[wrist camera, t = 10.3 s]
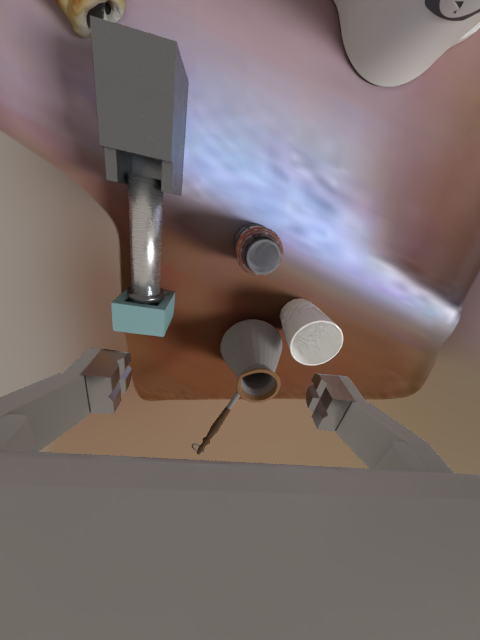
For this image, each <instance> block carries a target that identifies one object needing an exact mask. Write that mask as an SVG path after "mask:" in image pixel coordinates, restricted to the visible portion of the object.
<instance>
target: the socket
mask: <svg viewBox="0 0 480 640" xmlns="http://www.w3.org/2000/svg"><path fill="white" fill-rule="evenodd" d="M174 302H175V292H171V291H165V290H164V299H163V300H162V301H161V302H160V304H159V305H158V306H153V305H146V304H139V303H132V301H131V300H129V299H128V298H127V289H126V290H125V291H124V292H123V293H122V294H121V295H119V296H118V297H117V298H116V299H115V300H114V301H112V302H111V307H112V320H113V331H121V332H128V333H136V334H144V335H152V336H160V337H164V335H165V333H166V331H167V329H168V327H169V324H170V322H171V320H172V318H173V316H174Z"/></svg>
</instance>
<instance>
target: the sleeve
mask: <svg viewBox="0 0 480 640" xmlns="http://www.w3.org/2000/svg"><path fill="white" fill-rule="evenodd" d="M90 25H91V38H92V52H93V65H94V78H95V92H96V105H97V119H98V132H99V145H100V146H103V147H104V153H105V168H106V180H110V181H115V182H119V183H124V184H128V173H133V174H138V175H142V176H147V177H151V178H155V179H159V180H161V191H162V192H166V193H171V194H176V195H181V192H182V176H183V160H184V144H185V129H186V113H187V97H188V79H187V75H186V72H185V69H184V65H183V62H182V59H181V55H180V52H179V49H178V45H177V42H176V41H173V40H169V39H166V38H163V37H160V36H156V35H153V34H150V33H146V32H143V31H140V30H137V29H133V28H130V27H127V26H123V25H120V24H117V23H114V22H110V21H107V20H104V19H101V18H97V17H94V16H91V15H90Z"/></svg>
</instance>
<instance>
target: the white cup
mask: <svg viewBox="0 0 480 640" xmlns="http://www.w3.org/2000/svg"><path fill="white" fill-rule="evenodd" d="M280 321H281V324H282V329H283V332H284V335H285V338H286V341H287V344H288V346H289V349H290V352H291V354H292V356H293V358H294V359H295V360H296V361H298V362H299V363H301V364H304V365H319V364H322V363H325V362H327V361H329V360H330V359H332V358H333V357H334V356H335V355H336V354H337V353H338V352H339V350H340V349H341V346H342V343H343V334H342V331H341V329H340V328H339V327H338V326H337V325H336V324H335V323H334V322H333V321H332V320H331V319H330V318H329V317H328V316H327V315H326V314H324V313H323V312H322V311H321V310H320V309H319V308H318V307H316V306H315V305H314V304H313V303H312V302H311V301H309V300H306V299H303V298H299V299H293V300H291V301H289V302H288V303H286V304H285V306H284V307H283V308H282V309H281V313H280Z"/></svg>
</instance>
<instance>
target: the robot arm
mask: <svg viewBox="0 0 480 640" xmlns="http://www.w3.org/2000/svg"><path fill="white" fill-rule="evenodd" d="M334 2H335V4H336V6H337V9H338V13H339V18H340V26H341V33H342V39H343V43H344V47H345V50H346V53H347V55H348V57H349V60H350V62H351V63H352V65H353V67H354V68H355V69H356V71H357V72H358V73H359V74H360V75H361V76H362V77H363V78H364V79H366V80H367V81H369V82H370V83H372V84H375V85H378V86H384V87H392V86H398V85H402V84H404V83H407V82H409V81H411V80H413V79H415V78H416V77H418V76H419V75H421V74H422V73H423V72H425V71H426V70H427V69H428V68H429V67H430V66H431V65H432V64H433V63H434V62H435V61H436V60H437V59H438V58H439V57H440V56H441V55H442V54H443V53H444V52H445V51H446V50H448V49H449V48H450V47H452V46H454V45H456V44H458V43H460V42H462V41H464V40H465V39H467V38H468V37H470V36H471V35H472V34H473V33H474V32H476V31H477V30H478V29H479V28H480V0H334ZM130 361H131V354H130V353H129V352H123V351H115V350H108V349H99V348H88V349H86V350H85V352H83V354H82V355H81V356H80V357H79V358H78V359H77V360H76V361H75V362H74V363H73V364H72V365H71V366H70V367H69V368H68V369H67V370H66V371H65V372H64V373H63V374H62V373H58V374H56V375H53V376H51V377H49V378H46V379H44V380H41V381H39V382H37V383H34V384H32V385H29V386H27V387H24V388H22V389H19V390H17V391H15V392H12V393H10V394H8V395H5V396H3V397H0V640H480V475H477V474H458V473H453V471H452V470H451V469H450V468H449V467H448V466H447V464H446V463H445V462H444V461H443V460H442V458H441V457H440V456H439V455H438V454H437V453H436V451H435V450H434V449H433V448H432V447H431V446H430V445H429V443H427V442H426V441H424V440H423V439H422V438H420V437H419V436H417V435H416V434H414V433H413V432H411V431H410V430H408V429H407V428H406V427H404V426H403V425H401V424H400V423H398V422H397V421H395V420H394V419H392V418H391V417H390V416H388V415H387V414H385V413H384V412H382V411H381V410H379V409H378V408H377V407H375V406H374V405H372V404H371V403H367V402H366V401H365V399H364V398H363V396H362V395H361V394H360V392H359V391H358V390H357V388H356V387H355V385H354V384H353V383H352V381H351V380H350V378H348V377H347V376H338V375H336V376H334V375H325V374H315V375H314V376H313V378H312V383H313V384H312V385H311V386H309V387H308V389H307V392H306V403H307V406H308V408H309V409H310V410H311V411H312V412H313V415H312V418H313V420H314V423H315V425H316V428H317V429H318V430H328V431H336V433H337V435H338V436H339V437H340V438H341V439H342V440H343V441H344V442H345V443H346V444H347V445H348V446H349V447H350V448H351V449H352V451H353V452H354V453H355V454H356V455H357V456H358V457H359V458H360V459H361V460H362V461H363V462H364V463H365V464H366V465H367V466H368V467H369V469H361V468H342V467H323V466H304V465H284V464H265V463H264V464H263V463H245V462H226V461H207V460H188V459H187V460H186V459H168V458H149V457H129V456H110V455H91V454H71V453H70V454H69V453H51V452H39V451H40V450H42V449H43V448H44V447H46V446H47V445H48V444H50V443H51V442H53V441H54V440H55V439H57V438H58V437H59V436H61V435H62V434H63V433H65V432H66V431H67V430H68V429H70V428H72V427H73V426H74V425H76V424H77V423H78V422H80V421H81V420H82V419H84V418H85V417H87V416H88V415H89V414H90V413H107V414H114V413H115V411H116V409H117V408H118V406H119V404H120V402H121V394H123V393H125V392H126V391H127V389H128V387H129V384H130V380H131V368H130V367H129V366H128V365H129V363H130Z"/></svg>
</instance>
